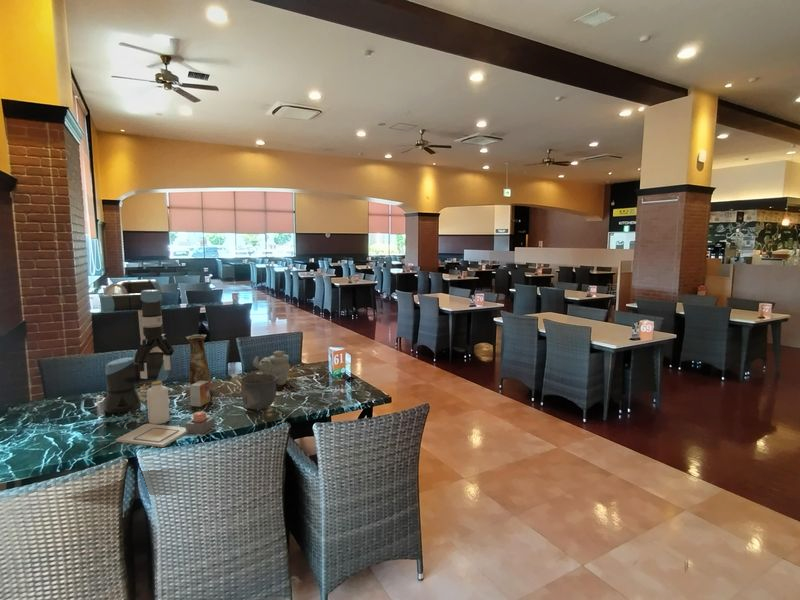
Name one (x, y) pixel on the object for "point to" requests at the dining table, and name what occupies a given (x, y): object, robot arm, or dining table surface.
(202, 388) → the small box
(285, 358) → the teapot
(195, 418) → the button
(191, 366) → the vase
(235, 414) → the dining table surface
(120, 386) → the robot arm
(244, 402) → the cup
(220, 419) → the dining table surface
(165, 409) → the potion bottle
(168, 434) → the colouring board
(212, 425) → the button housing
